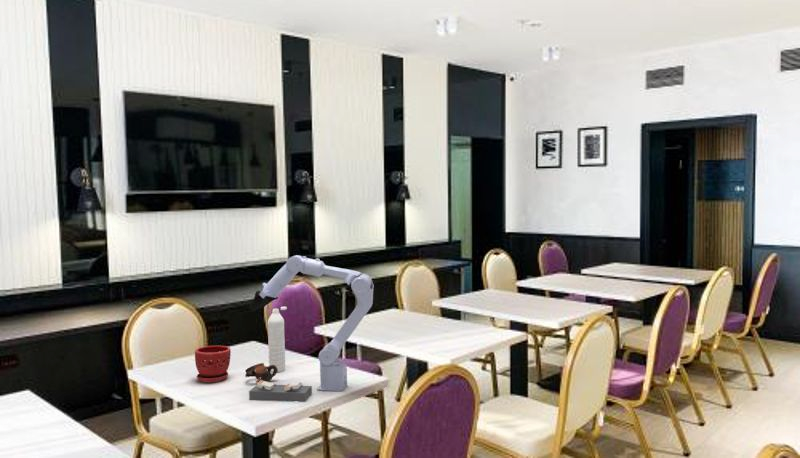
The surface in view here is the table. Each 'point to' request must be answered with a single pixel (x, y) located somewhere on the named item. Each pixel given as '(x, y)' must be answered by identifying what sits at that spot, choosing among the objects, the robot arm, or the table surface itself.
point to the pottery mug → (261, 372)
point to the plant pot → (212, 363)
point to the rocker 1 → (265, 385)
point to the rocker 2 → (292, 386)
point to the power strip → (281, 393)
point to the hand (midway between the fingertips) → (255, 308)
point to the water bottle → (276, 340)
